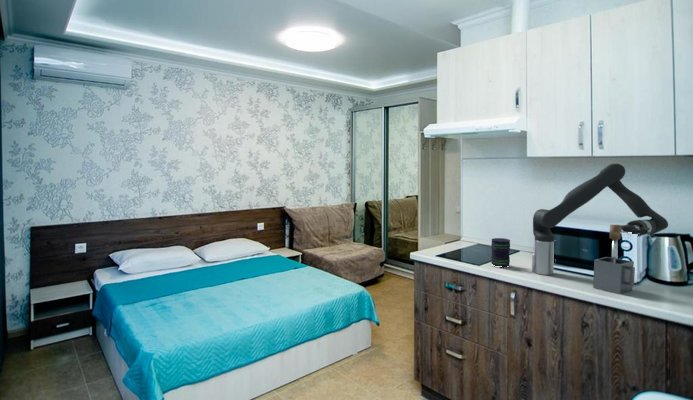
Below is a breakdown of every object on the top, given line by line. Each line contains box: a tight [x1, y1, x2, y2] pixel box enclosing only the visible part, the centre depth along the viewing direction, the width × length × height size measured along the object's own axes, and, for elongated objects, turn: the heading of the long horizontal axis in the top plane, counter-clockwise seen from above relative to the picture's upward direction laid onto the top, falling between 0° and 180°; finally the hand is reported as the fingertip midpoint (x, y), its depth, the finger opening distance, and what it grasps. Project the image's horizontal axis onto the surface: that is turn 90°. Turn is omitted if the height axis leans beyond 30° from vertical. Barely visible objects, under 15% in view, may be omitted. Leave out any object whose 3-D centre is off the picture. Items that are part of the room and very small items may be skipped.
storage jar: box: [490, 237, 511, 267], centre depth 220 cm, size 10×10×15 cm
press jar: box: [592, 256, 636, 295], centre depth 175 cm, size 14×11×13 cm
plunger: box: [609, 224, 622, 263], centre depth 175 cm, size 9×9×22 cm
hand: (621, 230), depth 178 cm, fingers open, 8 cm apart
